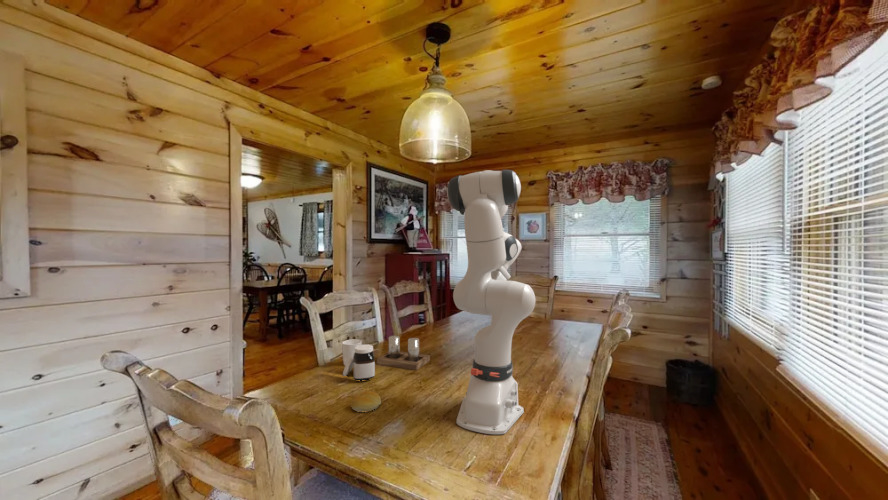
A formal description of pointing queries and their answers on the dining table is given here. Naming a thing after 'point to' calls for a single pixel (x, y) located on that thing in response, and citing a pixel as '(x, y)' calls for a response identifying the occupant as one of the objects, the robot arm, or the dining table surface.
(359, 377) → the spread jar
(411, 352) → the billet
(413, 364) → the wooden divided tray
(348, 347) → the white cup
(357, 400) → the bread roll
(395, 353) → the cylinder
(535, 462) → the dining table surface
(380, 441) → the dining table surface
